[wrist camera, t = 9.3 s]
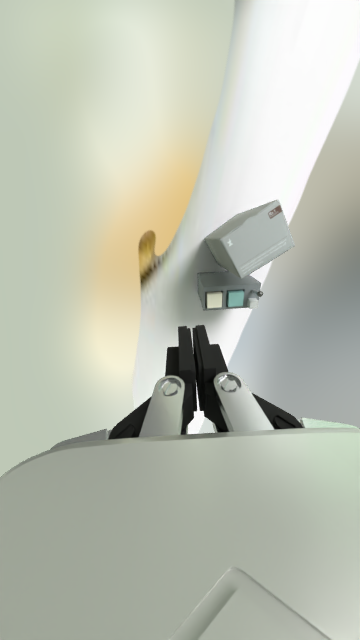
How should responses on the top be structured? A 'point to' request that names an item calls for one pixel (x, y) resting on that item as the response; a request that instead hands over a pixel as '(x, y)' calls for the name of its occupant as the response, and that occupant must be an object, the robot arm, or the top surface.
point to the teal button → (234, 298)
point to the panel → (226, 287)
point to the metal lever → (257, 292)
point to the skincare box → (251, 239)
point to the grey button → (252, 303)
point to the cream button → (213, 299)
